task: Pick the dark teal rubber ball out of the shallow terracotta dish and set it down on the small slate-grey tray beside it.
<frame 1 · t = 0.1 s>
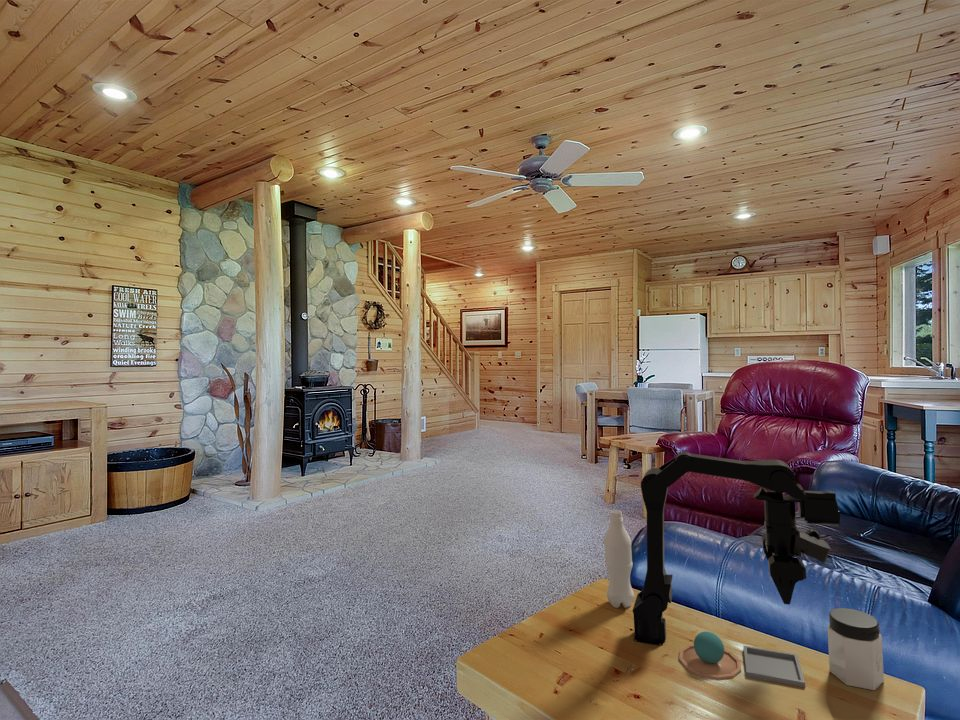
hand: (783, 594, 109), 15 cm above the table, fingers open, 9 cm apart
ball: (709, 661, 110), point 1 cm above the table, touching dish
tray: (772, 670, 106), on the table
dish: (709, 664, 110), on the table
water bottle: (620, 604, 138), on the table
jar: (856, 677, 103), on the table
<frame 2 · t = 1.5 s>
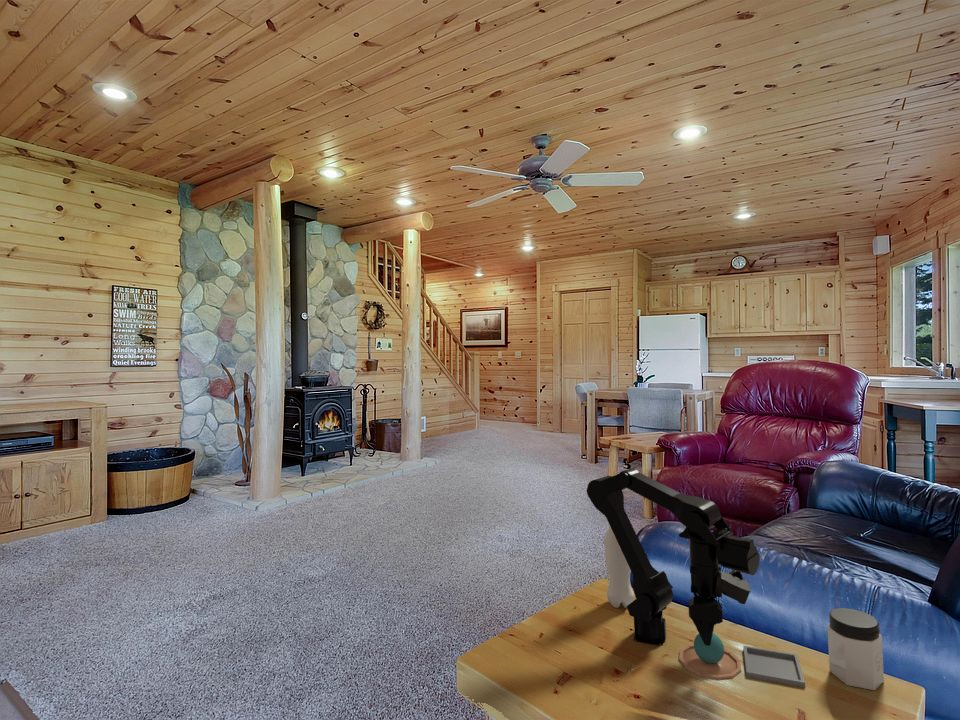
hand: (707, 633, 110), 6 cm above the table, fingers open, 9 cm apart
nothing on the table moved.
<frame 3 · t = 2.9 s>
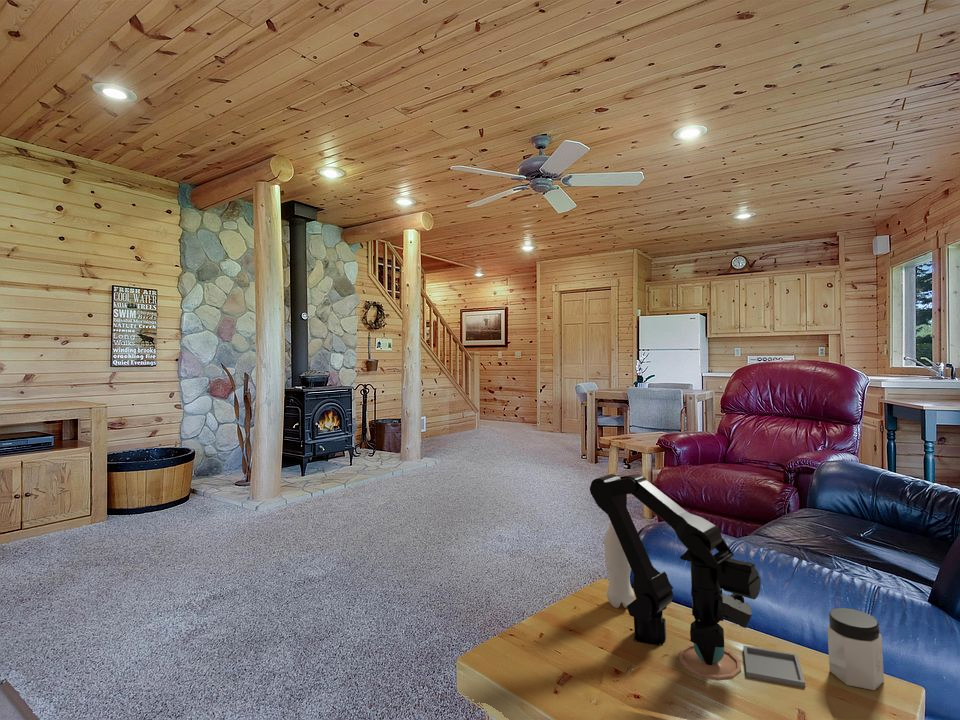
hand: (709, 656, 110), 2 cm above the table, fingers closed on ball, 6 cm apart
ball: (709, 661, 110), point 1 cm above the table, touching dish, gripper
everything else where it was.
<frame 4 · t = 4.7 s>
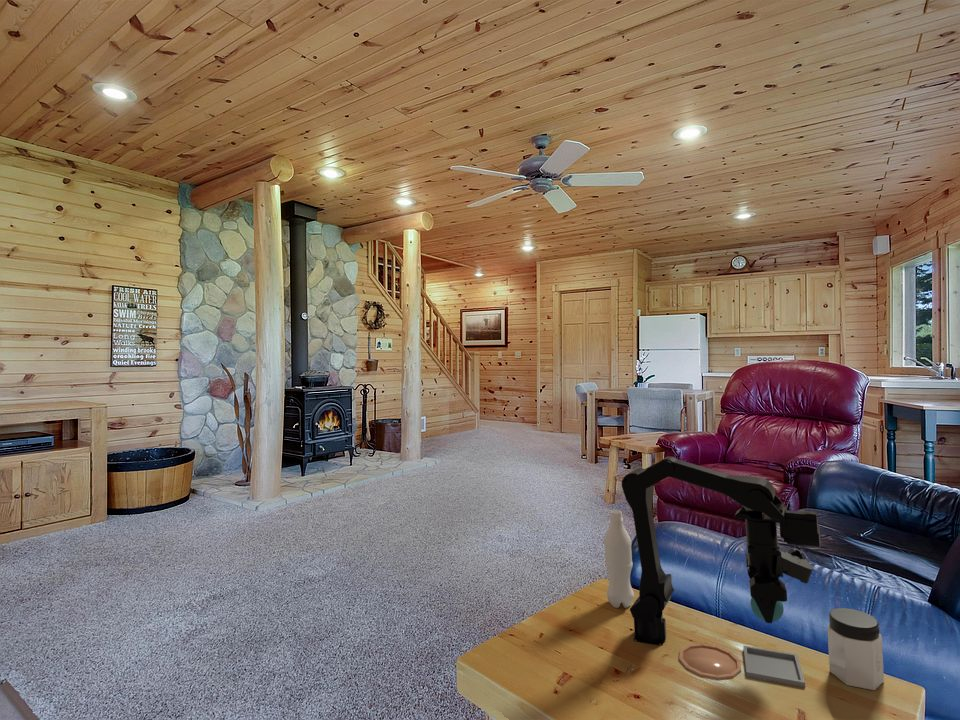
hand: (767, 615, 106), 11 cm above the table, fingers closed on ball, 6 cm apart
ball: (767, 620, 106), point 10 cm above the table, touching gripper
everything else where it was.
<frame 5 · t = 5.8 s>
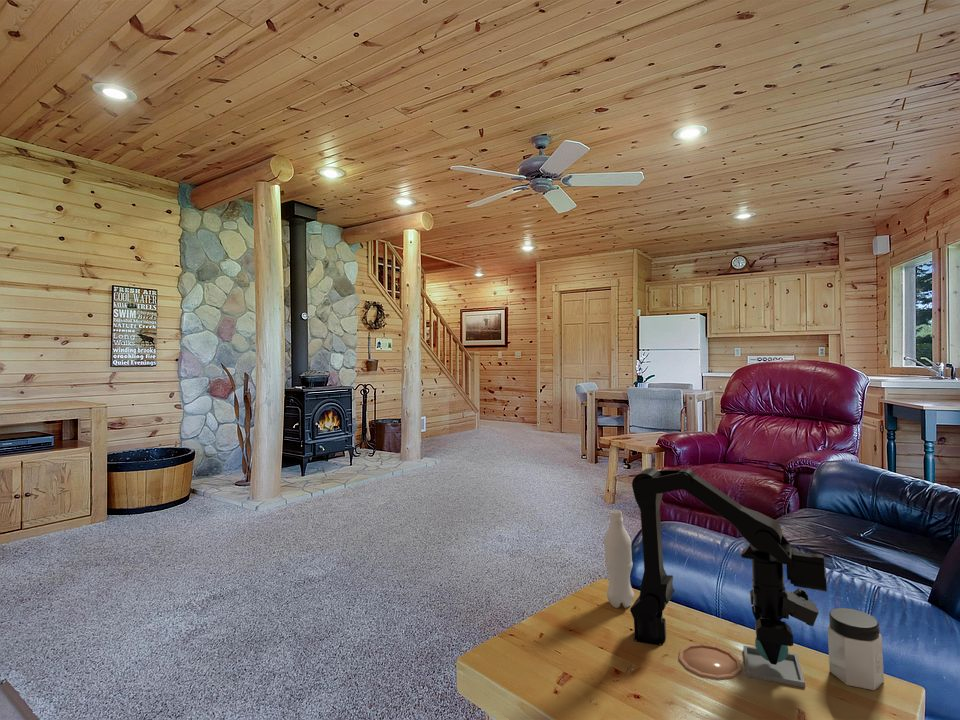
hand: (771, 655, 106), 3 cm above the table, fingers closed on ball, 6 cm apart
ball: (772, 660, 106), point 2 cm above the table, touching gripper
everything else where it was.
when the fingers open (3 cm above the table, at t = 6.5 s): ball drops 1 cm, resting on tray.
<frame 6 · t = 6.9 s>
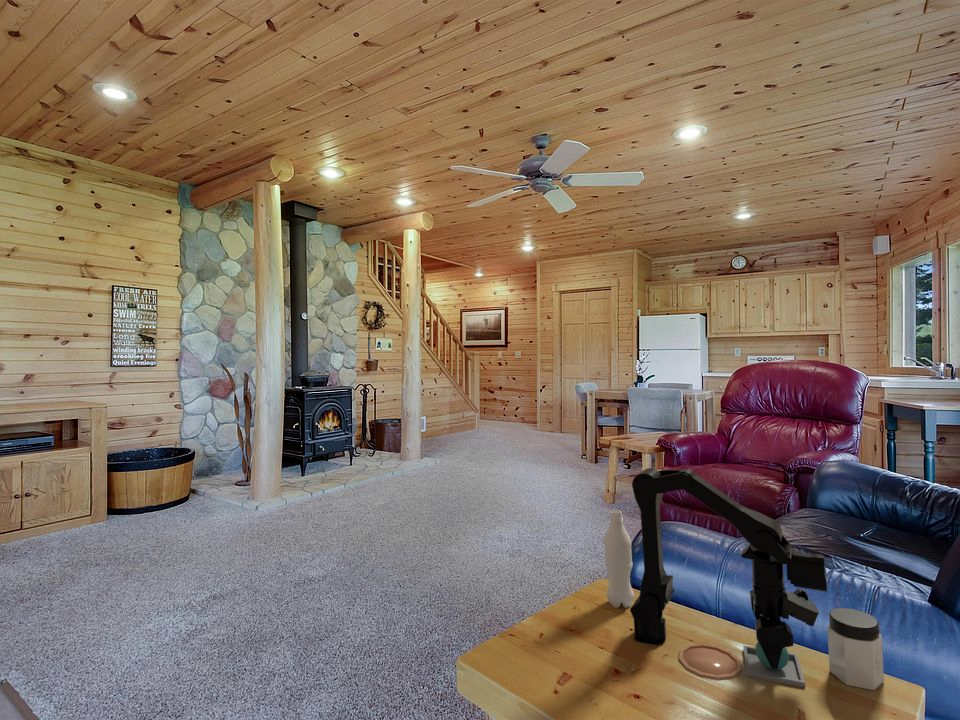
hand: (771, 655, 106), 3 cm above the table, fingers open, 9 cm apart
ball: (772, 667, 106), point 1 cm above the table, touching tray
everything else where it was.
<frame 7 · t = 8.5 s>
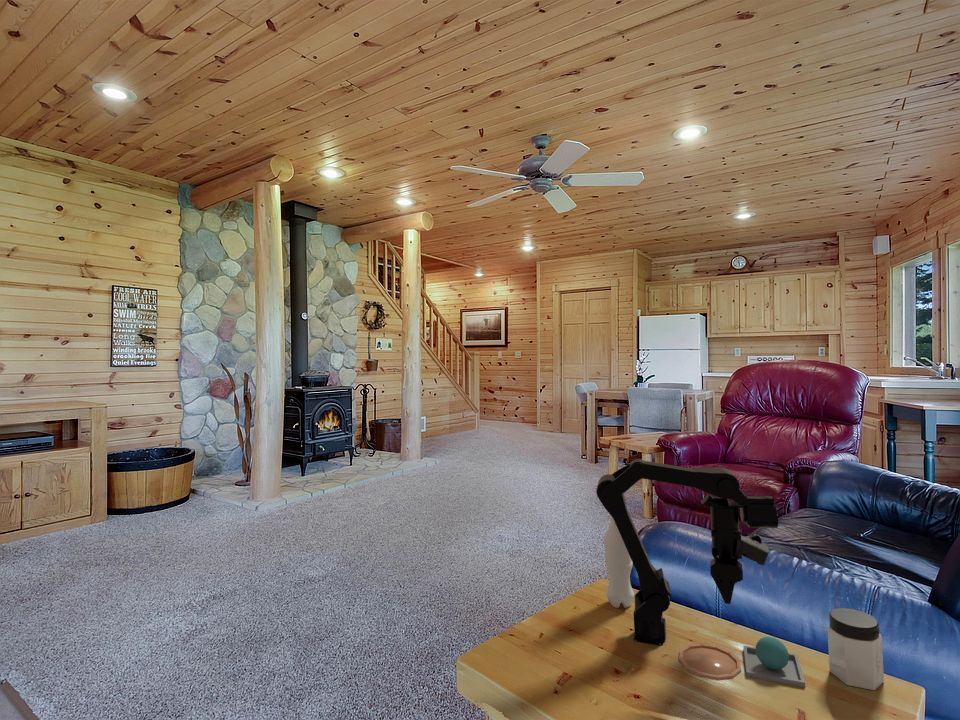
hand: (727, 594, 116), 12 cm above the table, fingers open, 9 cm apart
nothing on the table moved.
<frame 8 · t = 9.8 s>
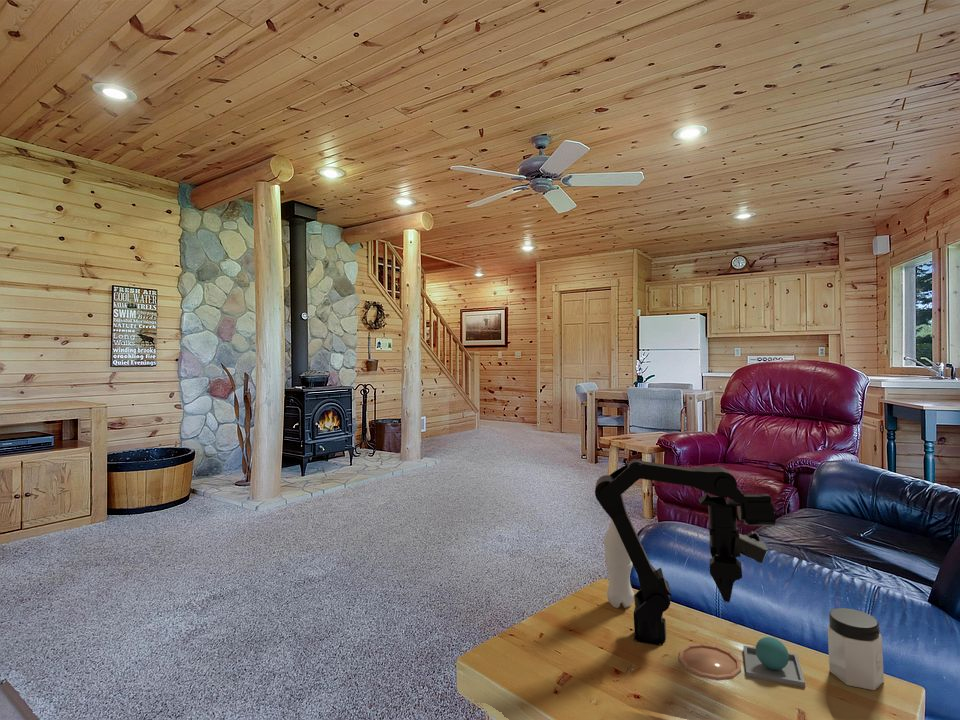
hand: (726, 592, 116), 12 cm above the table, fingers open, 9 cm apart
nothing on the table moved.
at the end: ball inside the target area on the tray (0.0 cm from its centre), point 0.6 cm above the tray's base; the gripper is holding nothing; ball touching tray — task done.
